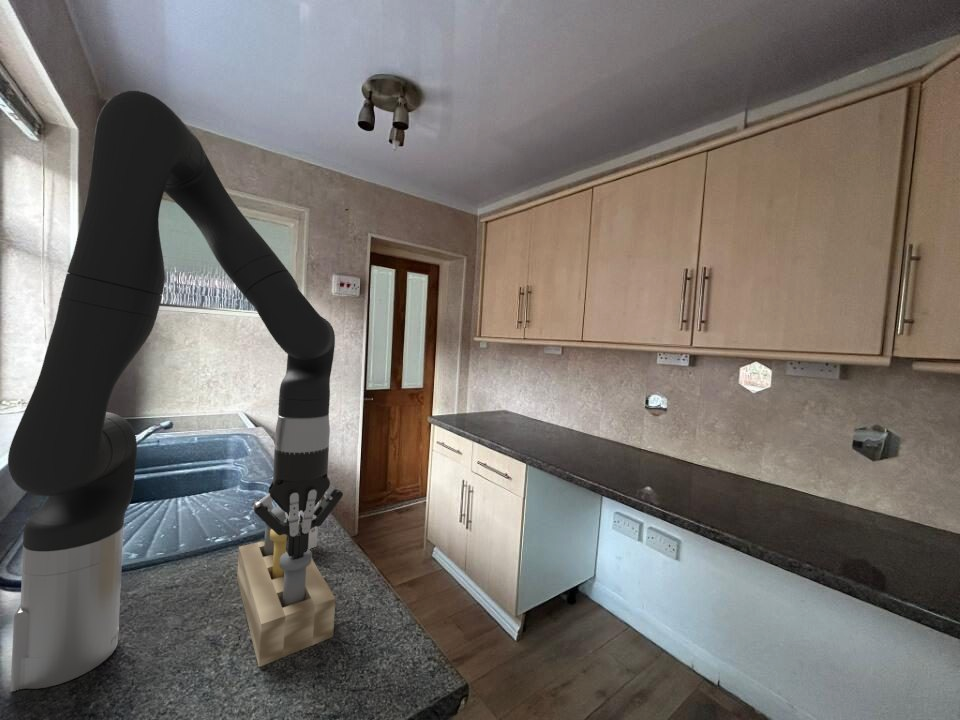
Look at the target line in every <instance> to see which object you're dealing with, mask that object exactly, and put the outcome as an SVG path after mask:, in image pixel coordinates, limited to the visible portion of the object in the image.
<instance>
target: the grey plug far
mask: <svg viewBox="0 0 960 720" xmlns="http://www.w3.org/2000/svg"><path fill="white" fill-rule="evenodd" d="M271 512H272V513H273V514H274V515H275V516H276V517H277V518H278V519H279V520H280V521H281V522H285V521H286V515H285V512H284V511H283V510H282V509H281V508H280V507H279V506H275V507H274V506H273V509H272V511H271ZM260 519H261V518H260ZM261 521H262V522H264V521H263V520H262V519H261ZM264 529H265V530H264V540H263V541H264V557H265V556H269V555H273V554H274V541H272V540H271V539H270V530H271V528H270V527H269V526H268V525H267V524H266V523H265V525H264Z"/></svg>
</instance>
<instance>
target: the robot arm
mask: <svg viewBox="0 0 960 720" xmlns="http://www.w3.org/2000/svg"><path fill="white" fill-rule="evenodd" d="M92 146H93V147H92V156H91V164H90V165H91V166H90V176H89V183H88V190H87V195H86V199H85V204H84V208H83V211H82V215H81V220H80V225H79V226H78V227H79V228H78V233H77V237H76V241H75V245H74V249H73V253H72V256H71V259H70V262H69V264H68V268H67V271H66V272H67V273H66V275H65V279H64V281H63V286H62V290H61V293H60V297H59V302H58V306H57V313H56V316H55V321H54V325H53V327H52V331H51V335H50V338H49V342H48V345H47V347H46V350H45V351H46V352H45V354H44V358H43V362H42V365H41V369H40V373H39V376H38V378H37V381H36V384H35V387H34V389H33V392H32V394H31V396H30V398H29V400H28V403H27V405H26V408H25V410H24V412H23V414H22V416H21V419H20V420H19V423H18V426H17V428H16V431H15V433H14V435H13V437H12V441H11V443H10V446H9V451H8V455H7V467H8V471H9V474H10V476H11V479H12V480H13V482H14V483H15V484H16V486H17V487H19V488H20V489H21V490H22V491H24V492H27V493H28V494H30V495H34V496H39V497H47V498H46V500H45V501H44V503H43V504H42V505H41V506H40V507H39V509H37V511H35V513H33V515H32V516H30V518H29V519H28V520H27V522H26V523H25V526H24V528H23V535H22V537H23V541H22V545H23V546H22V547H23V548H22V564H21V566H22V568H21V582H20V583H21V584H20V585H21V587H20V588H21V589H20V604H19V607H18V608H17V610H16V611H15V612H14V613H15V614H14V615H13V627H12V628H13V629H12V632H13V633H12V651H11V652H12V654H11V670H10V671H11V672H10V673H11V674H10V675H11V676H10V692H11V693H13V692H12V691H14V692H16V690H17V691H20V690H23V689H33V690H34V689H35V690H37V689H44V688H50V687H54V686H57V685H61V684H64V683H67V682H70V681H72V680H74V679H77V678H79V677H81V676H83V675H85V674H87V673H88V672H90V671H92V670H93V669H95V668H97V667H98V666H100V665H101V664H102V663H103V662H105V661H107V659H108V658H109V657H110V656H112V654H114V652H115V650H116V649H117V646H118V645H119V643H118V642H119V631H120V627H119V623H120V606H121V604H120V603H121V591H122V590H121V589H122V588H121V584H122V570H123V569H122V568H123V567H122V566H123V550H124V548H123V547H124V529H125V528H124V527H125V515H126V513H127V512H126V511H127V509H128V508H129V506H130V504H131V501H132V498H133V494H134V493H133V492H134V486H135V478H136V477H135V476H136V467H137V455H138V445H137V436H136V433H135V430H134V428H133V426H132V425H131V424H130V422H129V421H128V420H127V419H125V418H124V417H122V416H121V415H119V414H116V413H113V412H109V411H108V407H109V403H110V400H111V397H112V394H113V391H114V388H115V386H116V384H117V382H118V381H119V379H120V377H121V376H122V374H123V373H124V371H125V370H126V368H127V367H129V365H130V363H131V362H132V361H133V359H134V358H135V357H136V356H137V354H138V353H139V351H141V348H142V347H143V345H144V344H145V343H146V341H147V340H148V338H149V336H150V334H151V332H152V330H153V328H154V326H155V323H156V320H157V317H158V313H159V309H160V306H161V302H162V298H163V296H162V295H164V294H163V293H164V287H165V280H166V279H165V278H166V277H165V276H166V275H165V274H166V272H165V262H164V256H163V249H162V244H161V236H160V228H159V227H160V226H159V218H160V217H159V216H160V207H161V203H162V199H163V196H164V193H165V194H166V195H167V196H168V197H170V198H171V200H172V201H173V202H175V203H176V205H178V206H179V207H180V208H181V209H182V210H183V212H185V213H186V214H187V216H188V217H189V218H190V219H191V220H192V221H193V223H194V224H195V226H196V227H197V228H198V230H199V232H201V234H202V236H203V238H204V239H205V241H206V243H207V244H208V247H209V249H210V251H211V252H212V254H213V256H214V257H215V259H216V261H217V262H218V264H219V265H220V266H221V268H222V270H223V271H224V273H225V274H226V275H227V276H228V278H229V279H230V280H231V282H232V283H233V284H234V286H236V288H237V289H238V291H240V293H241V294H242V295H243V296H244V297H245V299H246V300H247V301H248V302H249V303H250V304H251V305H252V306H253V307H254V309H255V310H256V312H257V314H258V316H259V318H260V319H261V320H262V322H263V324H264V326H265V327H266V329H267V330H268V332H269V334H270V335H271V337H272V338H273V340H274V341H275V342H276V343H277V345H278V346H279V347H280V348H281V349H282V350H283V351H284V352H285V353H286V354H287V357H286V360H287V361H286V371H285V375H284V377H283V378H282V381H281V382H280V386H279V395H278V411H277V414H278V416H277V421H276V426H275V432H274V434H275V435H274V439H273V444H274V452H273V453H274V454H273V455H274V457H273V471H272V472H273V473H272V474H273V475H272V481H271V484H270V486H269V487H268V493H267V494H266V495H264V496H263V497H262V498H261V499H256V500H254V501H253V502H252V503H251V507H252V510H253V511H254V514H255V515H257V517H259V518H260V519H262V520H263V521H262V520H261V521H262V522H263V523H265V524H267V525H268V526H269V527H270V528H271V529H272V530H273V531H274V532H275V533H277V534H278V535H283V534H286V535H287V537H286V551H287V553H288V555H289V557H290V556H291V557H292V559H293V560H294V559H297V558H301V557H303V556H304V553H305V552H307V550H308V540H309V531H310V530H311V529H312V528H314V527H315V526H316V527H318V528H319V527H320V526H322V525H323V523H324V522H325V521H326V520H327V518H328V516H329V515H330V514H331V513H332V512H333V510H334V508H335V507H336V506H337V504H338V503H339V502H340V500H341V499H342V497H343V496H344V495H343V492H342V490H340V488H339V487H338V486H334V485H331V480H330V478H329V476H328V470H329V454H330V453H329V452H330V433H331V428H330V427H331V426H330V415H329V414H330V399H331V382H330V381H331V380H330V379H331V375H332V369H333V364H334V363H333V362H334V354H335V347H336V346H335V344H336V343H335V342H336V334H335V330H334V327H333V326H332V325H331V323H330V322H329V320H328V319H326V318H325V317H323V316H321V315H320V314H319V312H318V311H317V310H316V309H315V308H314V307H313V305H312V304H311V302H309V300H308V299H307V298H306V296H305V295H304V294H303V292H301V291H300V289H299V285H298V284H297V282H296V280H295V279H294V277H293V276H292V274H291V273H290V271H289V270H288V269H287V267H286V266H285V264H284V263H283V262H282V261H281V259H280V258H279V257H278V256H277V254H276V253H275V252H274V250H273V249H272V248H271V247H270V246H269V244H268V243H267V242H266V241H265V240H264V238H263V237H262V235H260V233H259V232H258V231H257V230H256V229H255V227H254V226H253V225H252V224H251V223H250V222H249V220H248V219H247V218H246V217H245V215H244V214H243V213H242V212H241V210H240V209H239V208H238V206H237V205H236V203H235V202H234V200H233V199H232V197H231V195H229V193H228V191H227V190H226V188H225V186H224V185H223V183H222V181H221V179H220V178H219V176H218V174H217V173H216V170H215V168H214V167H213V165H212V163H211V161H210V159H209V157H208V155H207V153H206V151H205V150H204V147H203V146H202V144H201V142H200V140H199V139H198V137H197V136H196V135H195V134H194V133H193V131H192V130H191V129H190V128H189V127H188V126H187V125H186V123H184V121H183V120H182V119H181V118H180V117H179V115H178V114H176V112H175V111H174V110H172V109H171V108H170V106H168V105H167V104H166V103H165V102H163V101H162V100H161V99H159V97H158V98H157V97H156V96H154V95H153V94H150V93H149V92H148V93H147V92H146V91H145V92H144V91H140V90H127V91H122V92H119V93H117V94H115V95H113V96H112V97H111V98H109V99H108V100H107V101H106V102H105V104H103V107H102V108H101V110H100V112H99V114H98V116H97V121H96V124H95V130H94V137H93V145H92ZM323 497H324V498H323ZM322 498H323V499H322ZM321 499H322V501H321ZM273 501H274V502H275V504H276V505H277V507H280V508H281V509H282V510H283V511H284V512H285V515H286V519H285V521H284V522H281V521H280V520H279V519H278V518H277V517H276V516H275V515H274V514H273V513H272V512H271V511H272V509H273V508H274V506H273V503H272V502H273ZM320 501H321V502H320ZM318 502H319V506H318V507H317V508H316V510H315V511H314V507H315V506H316V505H317V503H318ZM298 520H299V521H298ZM19 689H20V690H19Z"/></svg>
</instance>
